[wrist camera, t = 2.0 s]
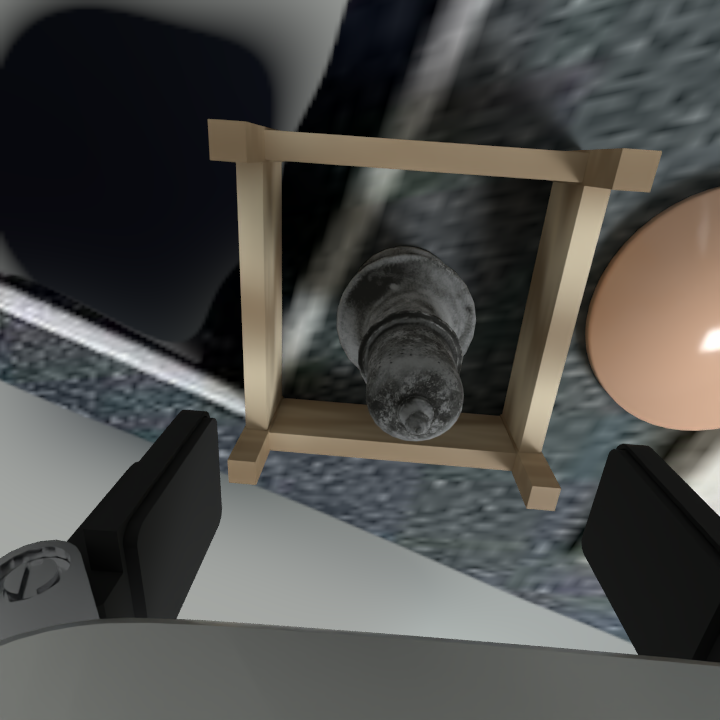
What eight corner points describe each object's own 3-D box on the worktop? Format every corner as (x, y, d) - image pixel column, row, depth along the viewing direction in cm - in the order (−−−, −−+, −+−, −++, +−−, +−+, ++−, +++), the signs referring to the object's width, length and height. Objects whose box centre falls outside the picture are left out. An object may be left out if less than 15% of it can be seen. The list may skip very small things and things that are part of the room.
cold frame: (256, 130, 20) (207, 118, 15) (585, 153, 20) (662, 151, 14) (262, 413, 26) (229, 482, 20) (517, 435, 25) (554, 510, 20)
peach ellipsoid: (625, 171, 20) (635, 172, 19) (909, 192, 20) (929, 193, 19) (559, 412, 25) (564, 420, 24) (786, 431, 25) (798, 439, 24)
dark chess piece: (445, 364, 24) (496, 537, 13) (334, 343, 24) (291, 500, 13) (477, 252, 22) (572, 348, 11) (354, 228, 22) (322, 300, 11)
